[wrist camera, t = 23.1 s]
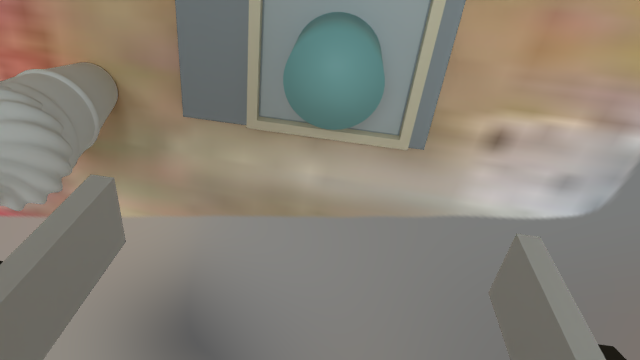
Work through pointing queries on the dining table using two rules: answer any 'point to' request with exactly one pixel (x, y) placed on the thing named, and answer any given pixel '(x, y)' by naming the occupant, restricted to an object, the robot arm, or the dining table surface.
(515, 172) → the dining table surface
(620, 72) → the dining table surface
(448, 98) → the dining table surface
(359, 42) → the teal egg shape
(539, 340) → the robot arm
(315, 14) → the jig board
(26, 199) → the soft serve ice cream cone
